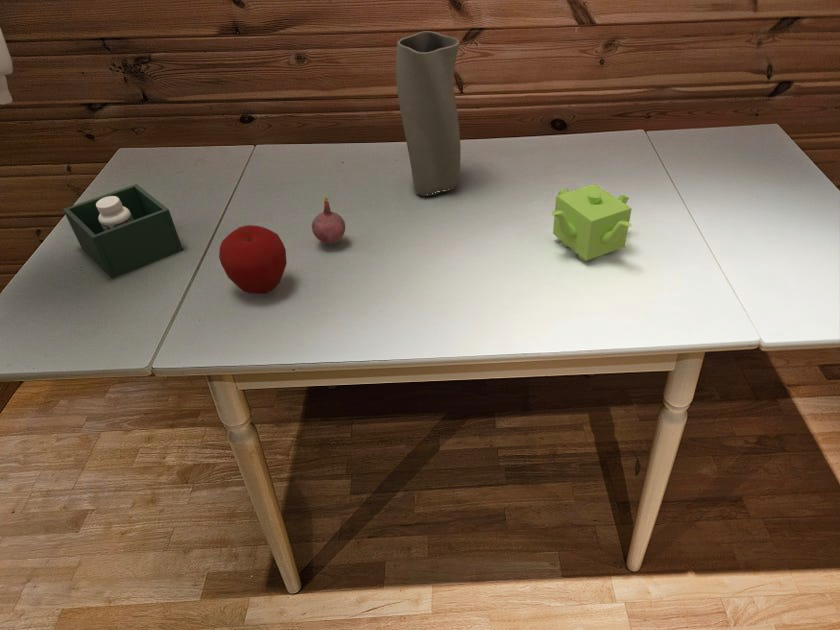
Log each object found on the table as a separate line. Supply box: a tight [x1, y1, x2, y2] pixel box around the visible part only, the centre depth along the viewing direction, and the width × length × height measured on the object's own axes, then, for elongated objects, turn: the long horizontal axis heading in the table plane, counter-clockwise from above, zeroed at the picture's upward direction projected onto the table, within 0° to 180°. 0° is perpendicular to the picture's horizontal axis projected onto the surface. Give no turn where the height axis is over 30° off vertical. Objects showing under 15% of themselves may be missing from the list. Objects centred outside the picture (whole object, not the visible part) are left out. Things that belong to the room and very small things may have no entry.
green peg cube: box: [550, 183, 632, 262], centre depth 122 cm, size 15×14×11 cm
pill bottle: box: [96, 196, 134, 231], centre depth 120 cm, size 5×5×10 cm
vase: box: [395, 30, 462, 197], centre depth 132 cm, size 12×12×30 cm
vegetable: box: [311, 195, 346, 245], centre depth 122 cm, size 6×6×10 cm
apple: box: [218, 224, 287, 295], centre depth 111 cm, size 11×11×12 cm
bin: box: [62, 183, 184, 280], centre depth 121 cm, size 14×14×9 cm
